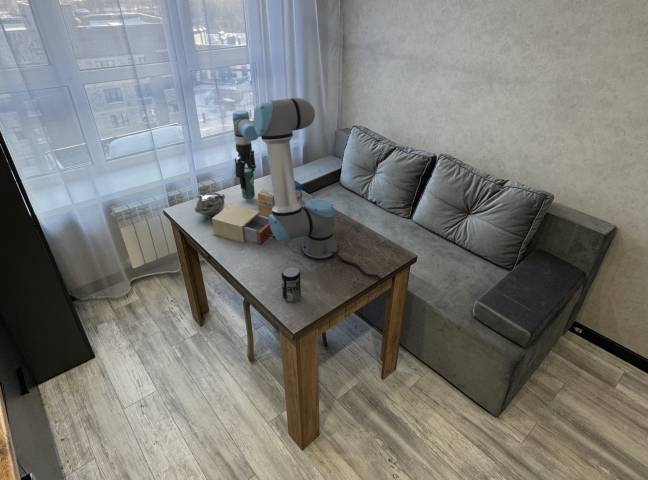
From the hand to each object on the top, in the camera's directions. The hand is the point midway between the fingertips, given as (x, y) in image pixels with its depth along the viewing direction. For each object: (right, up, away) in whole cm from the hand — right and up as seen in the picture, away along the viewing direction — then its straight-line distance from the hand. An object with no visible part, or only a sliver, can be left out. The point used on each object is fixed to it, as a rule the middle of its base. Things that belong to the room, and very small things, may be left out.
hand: (247, 185), depth 203 cm
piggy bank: (-15, -15, -10) cm, 24 cm away
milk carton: (+24, -19, -12) cm, 33 cm away
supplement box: (+12, -16, -9) cm, 22 cm away
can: (0, -6, +3) cm, 6 cm away
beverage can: (+30, -45, -56) cm, 78 cm away
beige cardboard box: (+1, -22, -21) cm, 30 cm away
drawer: (+12, -24, -25) cm, 37 cm away
